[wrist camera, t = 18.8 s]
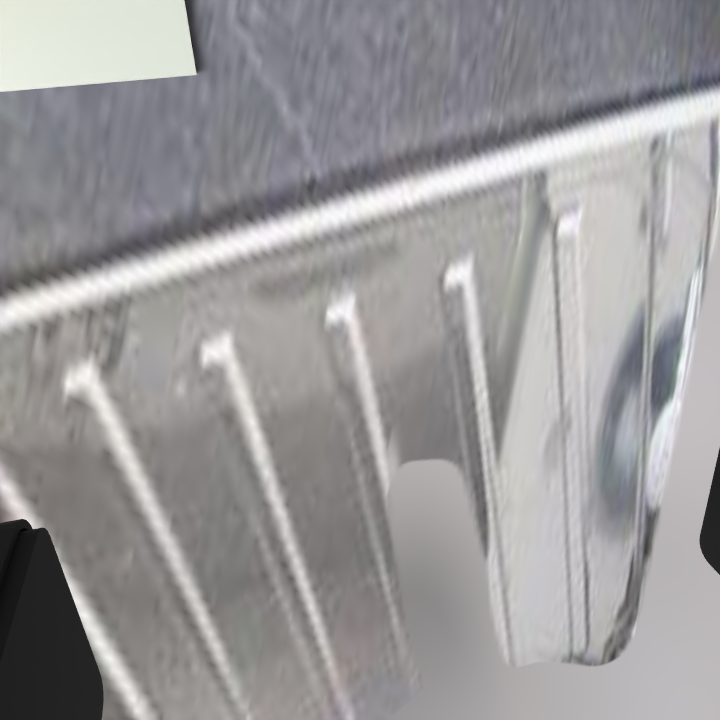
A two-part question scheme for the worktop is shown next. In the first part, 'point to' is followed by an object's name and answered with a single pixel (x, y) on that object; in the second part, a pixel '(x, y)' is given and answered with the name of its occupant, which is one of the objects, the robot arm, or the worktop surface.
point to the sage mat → (92, 42)
